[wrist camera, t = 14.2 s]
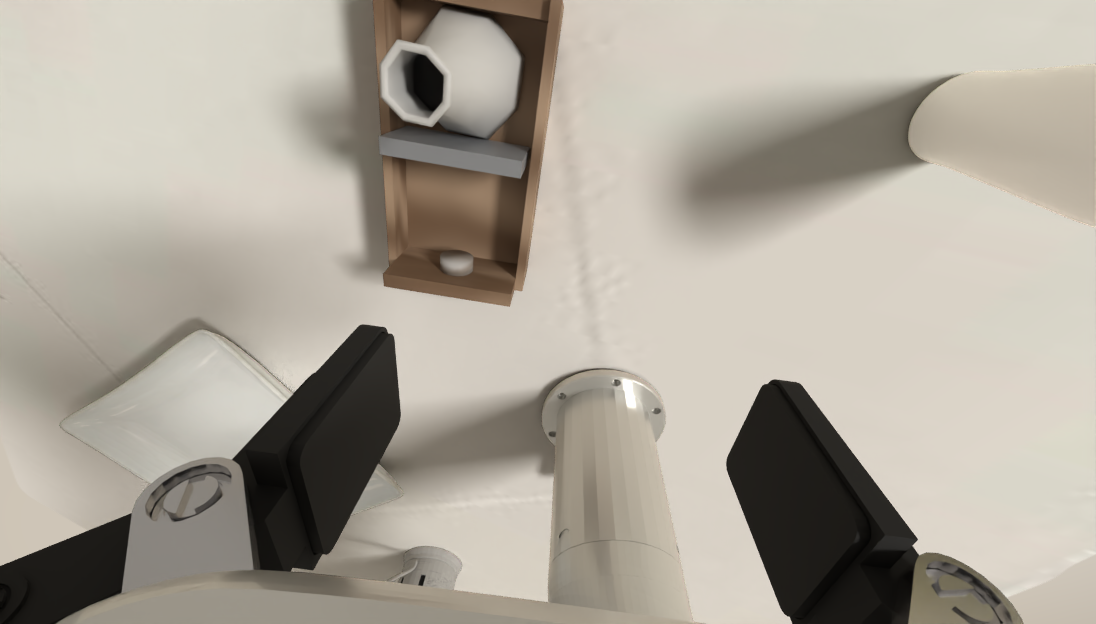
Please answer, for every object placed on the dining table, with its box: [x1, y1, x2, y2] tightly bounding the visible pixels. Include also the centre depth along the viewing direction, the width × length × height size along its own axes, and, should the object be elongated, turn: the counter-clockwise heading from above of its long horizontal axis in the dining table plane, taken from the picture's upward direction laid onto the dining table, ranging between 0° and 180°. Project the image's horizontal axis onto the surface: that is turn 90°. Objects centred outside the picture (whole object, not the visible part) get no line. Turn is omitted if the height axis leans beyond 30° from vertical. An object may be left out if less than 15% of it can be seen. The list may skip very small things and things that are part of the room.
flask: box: [379, 4, 525, 140], centre depth 21 cm, size 7×7×10 cm
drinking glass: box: [908, 64, 1096, 228], centre depth 20 cm, size 7×7×15 cm
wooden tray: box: [373, 0, 564, 307], centre depth 26 cm, size 18×10×6 cm, turn 171°
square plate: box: [59, 329, 404, 515], centre depth 46 cm, size 27×27×4 cm
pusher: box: [378, 126, 530, 178], centre depth 26 cm, size 1×8×5 cm, turn 82°
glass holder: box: [387, 546, 462, 590], centre depth 53 cm, size 9×14×15 cm, turn 20°
